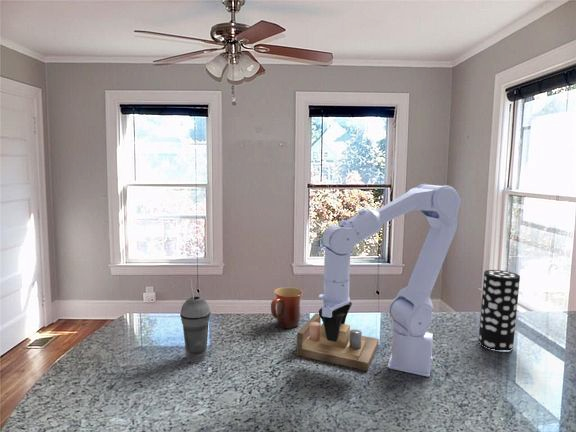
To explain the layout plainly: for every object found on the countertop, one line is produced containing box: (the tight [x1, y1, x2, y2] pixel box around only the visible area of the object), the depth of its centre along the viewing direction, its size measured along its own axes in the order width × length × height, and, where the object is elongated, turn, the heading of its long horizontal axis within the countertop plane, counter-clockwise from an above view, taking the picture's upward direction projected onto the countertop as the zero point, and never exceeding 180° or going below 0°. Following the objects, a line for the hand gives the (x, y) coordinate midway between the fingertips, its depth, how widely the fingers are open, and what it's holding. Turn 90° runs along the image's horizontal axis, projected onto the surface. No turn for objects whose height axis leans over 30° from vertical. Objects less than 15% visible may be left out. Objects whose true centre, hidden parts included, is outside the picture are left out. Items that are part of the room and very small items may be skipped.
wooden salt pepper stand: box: [302, 322, 366, 361], centre depth 88 cm, size 13×8×5 cm, turn 67°
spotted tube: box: [477, 269, 521, 350], centre depth 103 cm, size 8×8×20 cm
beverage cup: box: [179, 278, 212, 364], centre depth 93 cm, size 7×7×20 cm
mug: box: [270, 286, 304, 329], centre depth 114 cm, size 12×9×10 cm
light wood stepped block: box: [296, 313, 380, 372], centre depth 99 cm, size 18×14×6 cm
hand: (334, 336), depth 88 cm, fingers closed on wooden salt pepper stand, 4 cm apart
